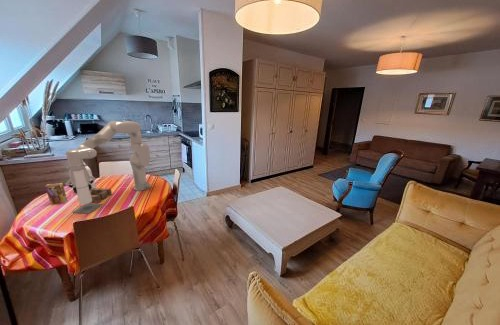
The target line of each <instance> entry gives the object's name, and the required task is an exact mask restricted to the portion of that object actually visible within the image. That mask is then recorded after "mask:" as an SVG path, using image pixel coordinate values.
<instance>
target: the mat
mask: <svg viewBox="0 0 500 325" xmlns="http://www.w3.org/2000/svg"><path fill="white" fill-rule="evenodd" d="M101 206H103V204H102V203H88V204H83V205H81V206H80V207H78V208H77V209H75V210H73V211H72V214H87V215H88V214H91V213H93V212H94V211H96V210H97V209H98V208H100V207H101Z"/></svg>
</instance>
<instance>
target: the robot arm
mask: <svg viewBox="0 0 500 325" xmlns="http://www.w3.org/2000/svg"><path fill="white" fill-rule="evenodd" d="M141 129H142V127H141V124H140V123H139V122H137V121H131V120H123V121H119V120H118V121H117V120H110V121H109V122H107V124H106V125H105V126H104V127H103V128H102V129H100V131H98V132H97V133H96V134H94V135H93V136H91V137H89V138H87V139H86V140H84V141H82V143H81V144H80V145H79V146H78V147H77V148H73V149H68V150H66V152H65V154H66V158H67V162H68V165H69V170H68V175H69V180H67V181H66V182H65V183H64V184H65V185H66V186H67V187H69V188H72V191H73V193H75V194H77V191H76V188H75V184H76V182H75V177H74V173H73V171H81V170H84V175H85V178H86V181H87V182H88V185H89V189H90V190H91V188H92V187H91V184H92V183H93V182H95V180H96V177H94V176H93V175H92V176H93V177H92V176H89V174H88V171H87V169H86V168H85V167H86V166H88V164H86V163H85V162H84V160H89V159H90V160H91V159H93V158H95V157H97V150H96V149H95V148H96V147H97V146H99V145H102V144H106V143H108V142H110V141H111V140H112V139H113V138H114V137H115V136H116V135H117V134H128V135H129V138H130V140H129V141H130V150H131V152H133V153H134V154H131V155H130V157H129V163H130V166H131V170H132V175H133V176H132V177H133V183H134V187H132V189H133V190H134V191H137V192H139V191H140V192H141V191H145V190H148V189H149V188H152V184H151V183H149V182H148V181H147V176H146V175H147V174H146V169H145V168H146V167H148V166H149V165H150V160H151V159H150V147H149V145H148V143H145V142H143V137H142V133H141ZM83 162H84V163H85V164H86V165H85V164H84V163H83ZM90 178H91V179H92V180H91V181H90ZM70 183H71V184H70Z"/></svg>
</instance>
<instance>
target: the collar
mask: <svg viewBox="0 0 500 325" xmlns="http://www.w3.org/2000/svg"><path fill="white" fill-rule="evenodd" d="M90 193H91V197H92V202H90V204H100V203H101V202H103V201H104V200H106V199H107V198H108V197H109V196H112V193H113V192H112V189H111V188H104V187H103V188H102V187H101V188H97V187H96V188H93V189H91V191H90Z"/></svg>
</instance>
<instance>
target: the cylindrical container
mask: <svg viewBox="0 0 500 325" xmlns="http://www.w3.org/2000/svg"><path fill="white" fill-rule="evenodd" d="M73 173H74V177H75V182H76V184H75V188H76V191H77V193H76V194H77V199H78V203H79V205H81V206H83V205H85V204H88V203H90V202H92V197H91V193H90V189H89V185H88V182H87V181H86V178H85V175H84V170H81V171H73ZM90 204H91V203H90Z"/></svg>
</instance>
